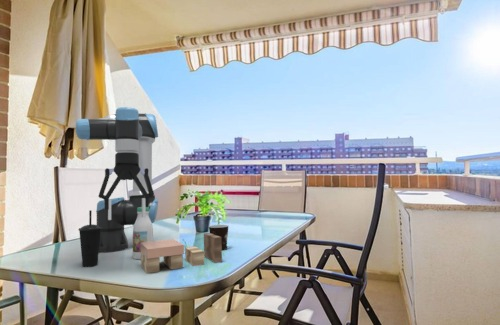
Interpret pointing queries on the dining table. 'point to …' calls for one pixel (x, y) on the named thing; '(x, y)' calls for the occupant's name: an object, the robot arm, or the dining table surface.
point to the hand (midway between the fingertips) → (127, 218)
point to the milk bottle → (141, 232)
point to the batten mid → (174, 261)
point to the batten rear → (149, 264)
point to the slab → (161, 248)
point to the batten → (194, 256)
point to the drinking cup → (90, 243)
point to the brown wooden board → (213, 247)
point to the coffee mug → (220, 233)
